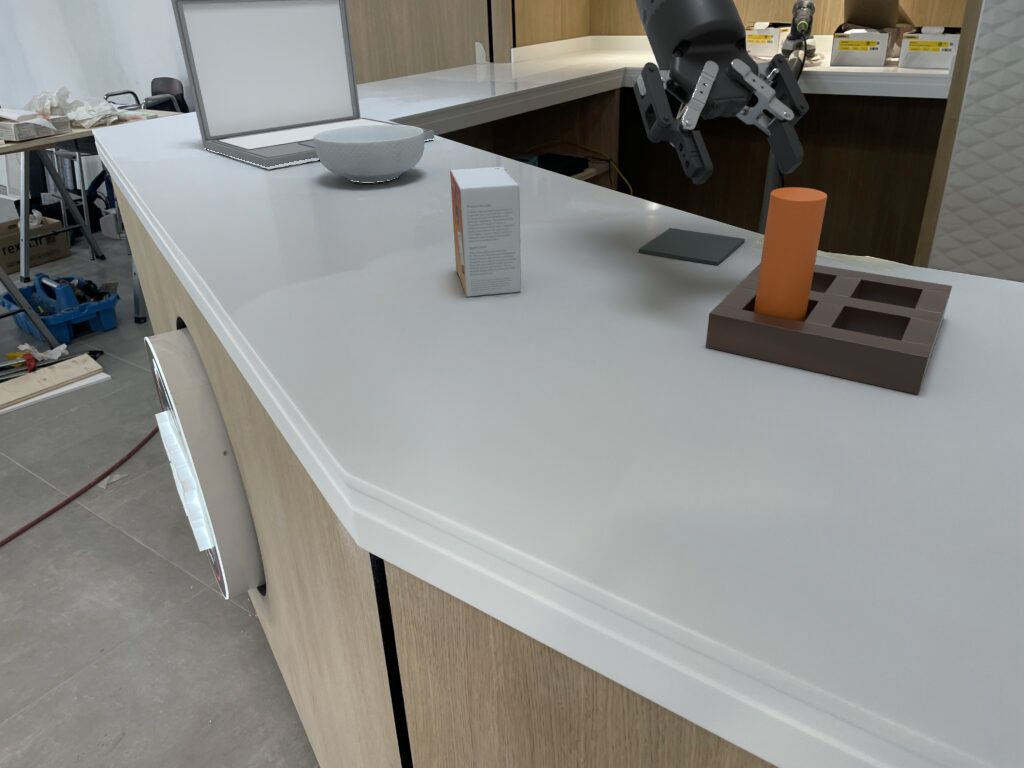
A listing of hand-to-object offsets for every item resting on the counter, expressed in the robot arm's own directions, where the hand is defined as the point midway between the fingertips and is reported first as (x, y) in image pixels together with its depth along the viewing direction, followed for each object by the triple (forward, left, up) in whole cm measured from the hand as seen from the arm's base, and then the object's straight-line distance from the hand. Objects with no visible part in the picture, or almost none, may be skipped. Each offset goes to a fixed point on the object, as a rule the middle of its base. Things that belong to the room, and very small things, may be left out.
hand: (749, 173), depth 60 cm
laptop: (-41, -95, -12) cm, 104 cm away
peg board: (0, +8, -12) cm, 15 cm away
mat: (-16, -10, -12) cm, 22 cm away
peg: (+4, +5, -12) cm, 14 cm away
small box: (+4, -24, -12) cm, 27 cm away
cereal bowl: (-25, -66, -12) cm, 71 cm away
